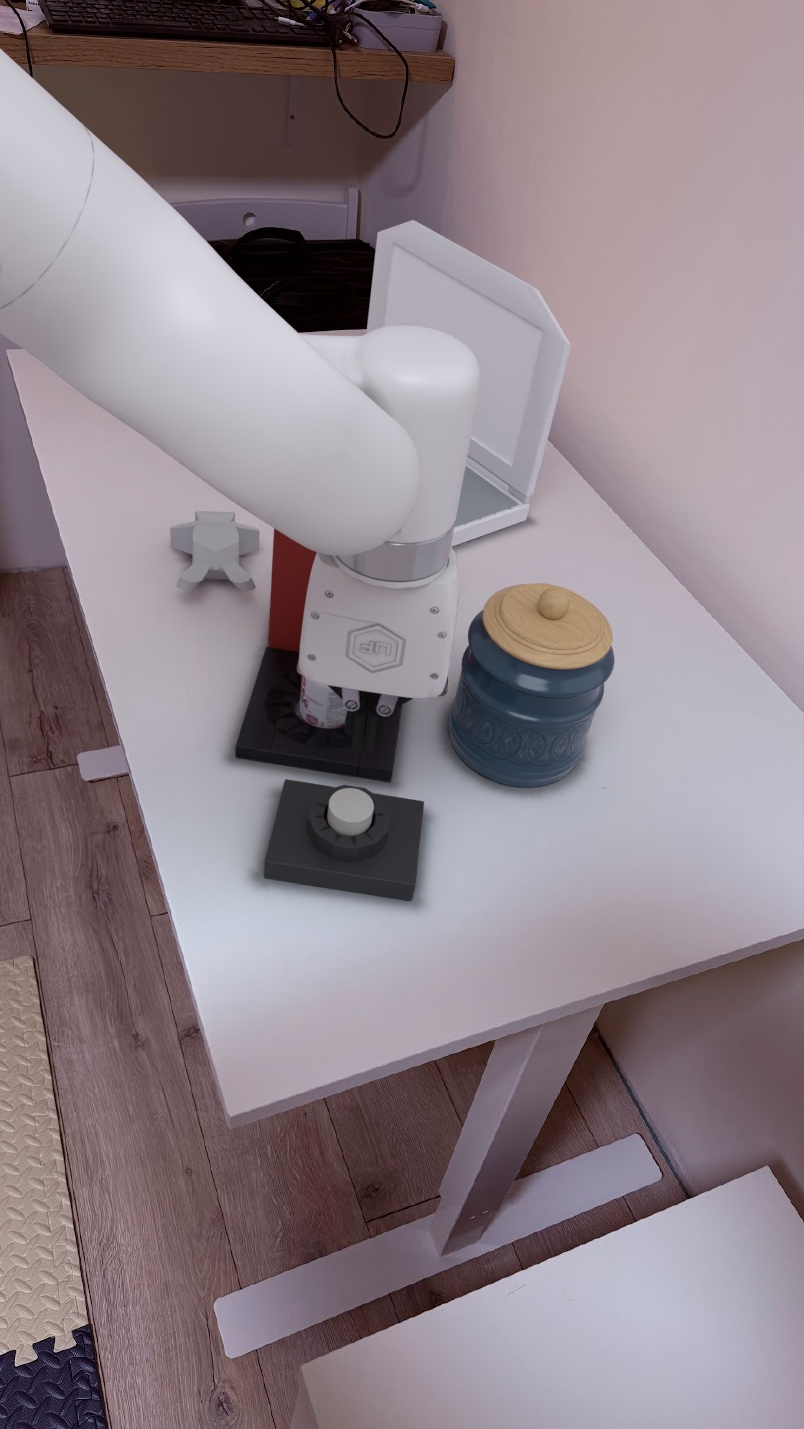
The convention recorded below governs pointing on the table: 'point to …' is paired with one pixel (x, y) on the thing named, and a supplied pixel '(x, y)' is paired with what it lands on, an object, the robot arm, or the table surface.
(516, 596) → the canister
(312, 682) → the pill bottle
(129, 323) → the robot arm
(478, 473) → the laptop
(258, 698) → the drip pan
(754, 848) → the table surface
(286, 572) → the red box with knob
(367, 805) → the button
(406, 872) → the control block
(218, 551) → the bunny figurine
